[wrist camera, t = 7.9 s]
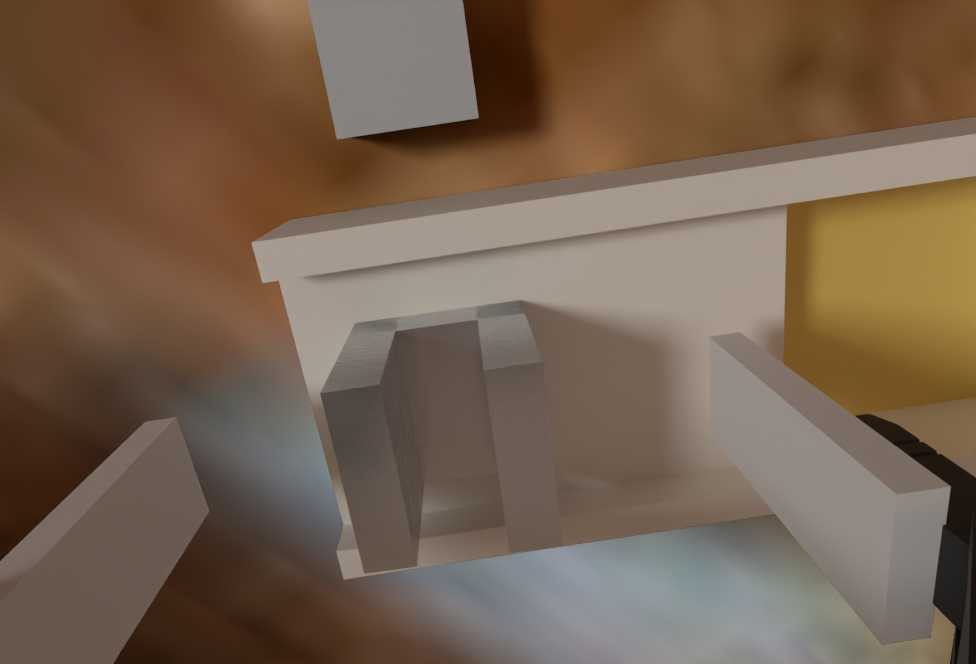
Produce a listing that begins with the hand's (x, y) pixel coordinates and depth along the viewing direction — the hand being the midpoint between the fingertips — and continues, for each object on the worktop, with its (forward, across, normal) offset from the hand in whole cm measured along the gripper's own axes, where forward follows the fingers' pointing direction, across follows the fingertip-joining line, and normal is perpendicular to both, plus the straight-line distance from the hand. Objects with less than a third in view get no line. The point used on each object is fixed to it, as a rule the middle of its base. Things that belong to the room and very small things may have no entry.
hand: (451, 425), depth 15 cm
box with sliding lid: (+5, +7, 0) cm, 9 cm away
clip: (+2, 0, 0) cm, 2 cm away
